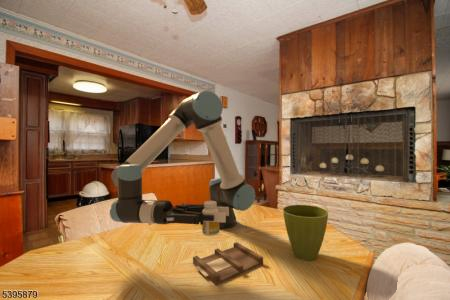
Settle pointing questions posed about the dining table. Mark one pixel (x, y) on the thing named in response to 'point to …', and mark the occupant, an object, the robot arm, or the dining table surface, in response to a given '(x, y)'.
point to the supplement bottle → (210, 227)
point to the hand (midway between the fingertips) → (226, 214)
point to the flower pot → (305, 229)
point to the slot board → (227, 263)
